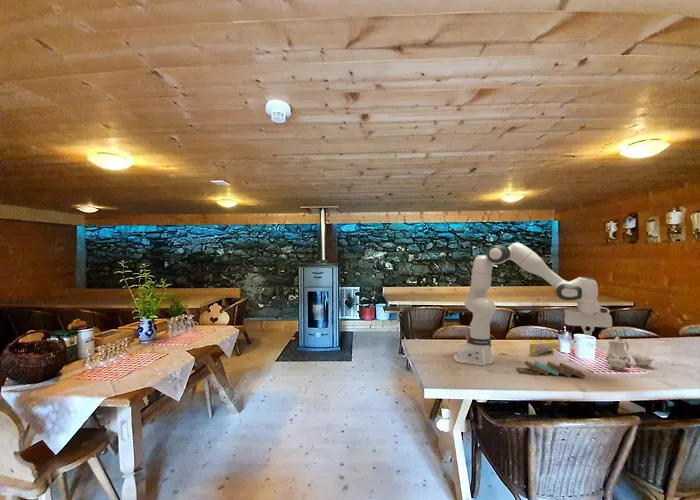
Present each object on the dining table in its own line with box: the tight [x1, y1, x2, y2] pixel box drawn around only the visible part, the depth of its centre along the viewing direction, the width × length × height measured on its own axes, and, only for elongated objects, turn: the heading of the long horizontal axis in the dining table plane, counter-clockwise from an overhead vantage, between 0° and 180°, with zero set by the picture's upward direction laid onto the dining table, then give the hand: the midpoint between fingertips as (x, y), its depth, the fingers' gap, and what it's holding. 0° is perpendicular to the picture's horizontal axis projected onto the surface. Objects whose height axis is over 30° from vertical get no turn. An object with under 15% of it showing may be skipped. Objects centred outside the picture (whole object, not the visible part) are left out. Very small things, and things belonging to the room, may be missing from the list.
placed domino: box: [533, 360, 560, 377], centre depth 171 cm, size 2×6×10 cm
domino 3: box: [546, 361, 573, 378], centre depth 170 cm, size 2×6×10 cm
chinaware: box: [605, 335, 654, 371], centre depth 180 cm, size 28×17×17 cm, turn 107°
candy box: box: [529, 341, 554, 358], centre depth 202 cm, size 16×2×8 cm, turn 101°
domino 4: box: [558, 362, 586, 380], centre depth 168 cm, size 2×6×10 cm
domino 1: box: [515, 366, 541, 376], centre depth 173 cm, size 2×6×10 cm
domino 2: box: [524, 360, 550, 376], centre depth 172 cm, size 2×6×10 cm
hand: (587, 334), depth 166 cm, fingers closed
